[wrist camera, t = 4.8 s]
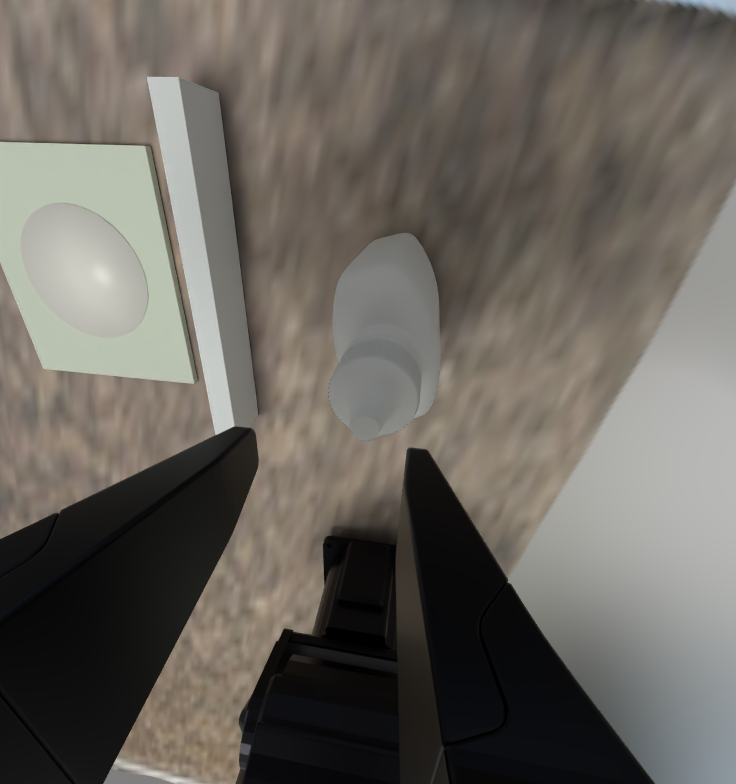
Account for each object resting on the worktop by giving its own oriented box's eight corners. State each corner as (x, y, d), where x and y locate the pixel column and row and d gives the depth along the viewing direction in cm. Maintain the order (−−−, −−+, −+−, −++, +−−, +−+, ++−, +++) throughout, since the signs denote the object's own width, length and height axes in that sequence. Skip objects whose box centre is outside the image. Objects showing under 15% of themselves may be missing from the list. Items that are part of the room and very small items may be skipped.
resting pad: (197, 380, 24) (193, 384, 23) (48, 366, 25) (42, 369, 24) (150, 146, 18) (143, 145, 18) (-41, 141, 19) (-52, 140, 19)
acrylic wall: (258, 415, 24) (237, 443, 22) (240, 413, 24) (216, 441, 22) (218, 92, 17) (178, 77, 14) (191, 92, 17) (146, 76, 14)
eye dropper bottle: (347, 331, 21) (258, 487, 10) (375, 220, 18) (293, 282, 8) (426, 356, 21) (416, 535, 10) (466, 249, 18) (508, 349, 8)
